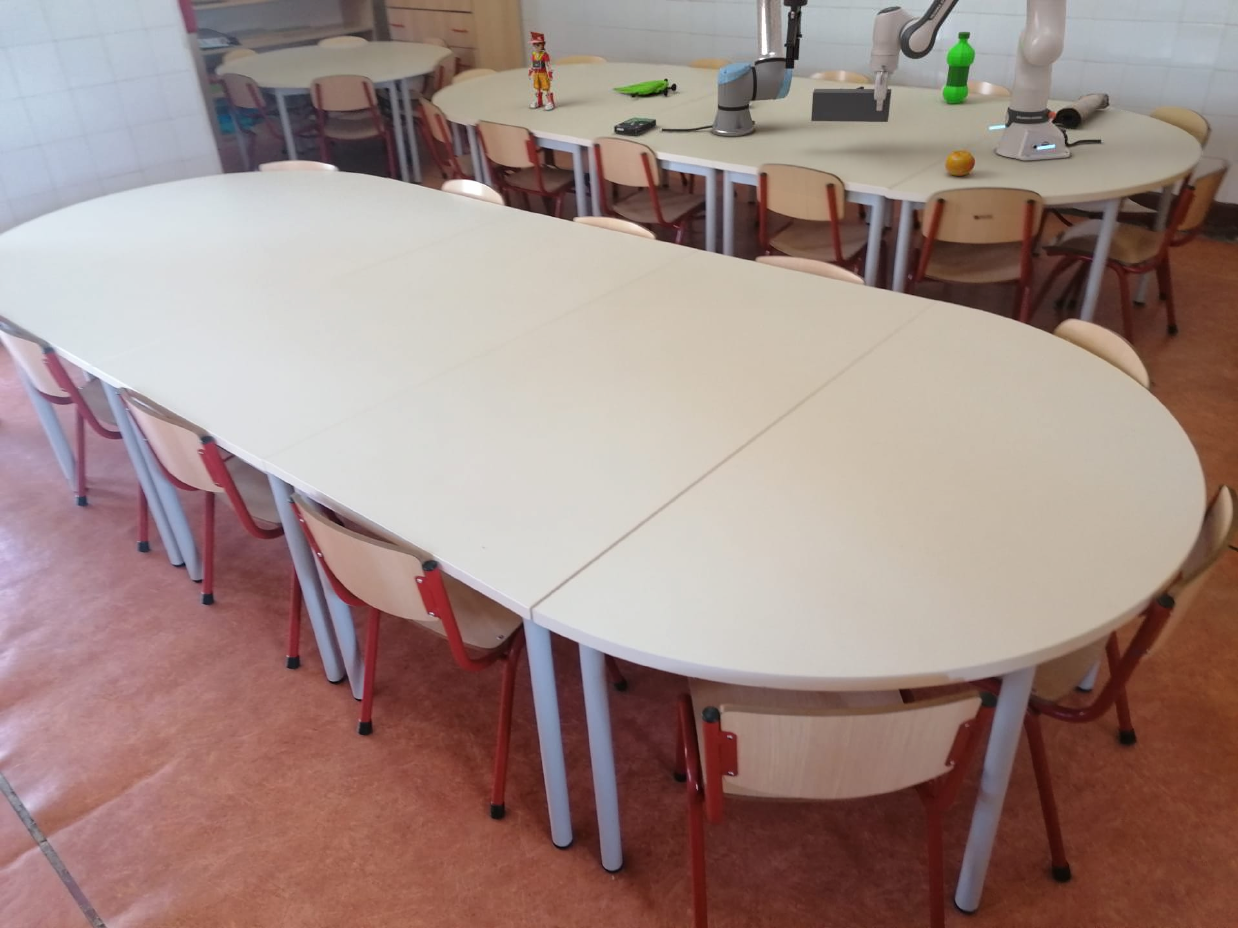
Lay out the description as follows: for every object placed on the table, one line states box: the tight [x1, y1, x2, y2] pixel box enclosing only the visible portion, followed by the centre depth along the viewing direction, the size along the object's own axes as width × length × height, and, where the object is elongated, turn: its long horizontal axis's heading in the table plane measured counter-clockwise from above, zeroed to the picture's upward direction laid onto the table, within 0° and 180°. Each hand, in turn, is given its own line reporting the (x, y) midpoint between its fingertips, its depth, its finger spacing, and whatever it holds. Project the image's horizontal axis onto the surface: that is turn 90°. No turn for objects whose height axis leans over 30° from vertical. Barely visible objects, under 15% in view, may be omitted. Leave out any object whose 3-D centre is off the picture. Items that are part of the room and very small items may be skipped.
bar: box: [810, 88, 892, 123], centre depth 300 cm, size 25×5×9 cm, turn 73°
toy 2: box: [612, 78, 677, 99], centre depth 396 cm, size 28×5×30 cm
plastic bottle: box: [942, 31, 976, 104], centre depth 348 cm, size 10×10×25 cm
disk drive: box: [613, 116, 657, 136], centre depth 344 cm, size 10×3×15 cm
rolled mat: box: [1051, 92, 1110, 129], centre depth 325 cm, size 30×9×10 cm
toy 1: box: [527, 31, 556, 111], centre depth 374 cm, size 12×9×30 cm
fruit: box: [944, 150, 976, 177], centre depth 280 cm, size 8×8×8 cm
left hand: (792, 64), depth 293 cm, fingers open, 13 cm apart
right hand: (879, 107), depth 297 cm, fingers closed on bar, 5 cm apart
